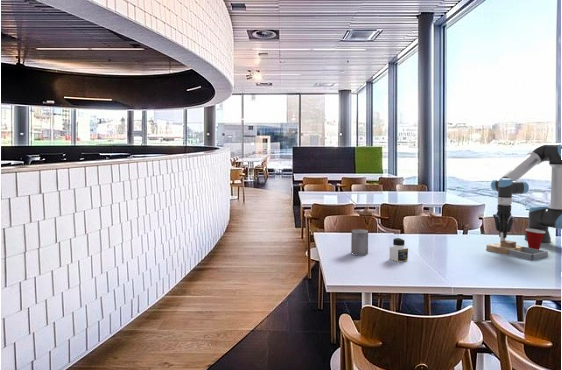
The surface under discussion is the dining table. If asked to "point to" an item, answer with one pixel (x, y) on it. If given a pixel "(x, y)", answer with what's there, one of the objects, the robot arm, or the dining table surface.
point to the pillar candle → (359, 242)
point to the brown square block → (508, 244)
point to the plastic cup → (534, 238)
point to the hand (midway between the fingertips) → (502, 242)
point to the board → (503, 248)
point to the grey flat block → (534, 254)
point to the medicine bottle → (398, 250)
